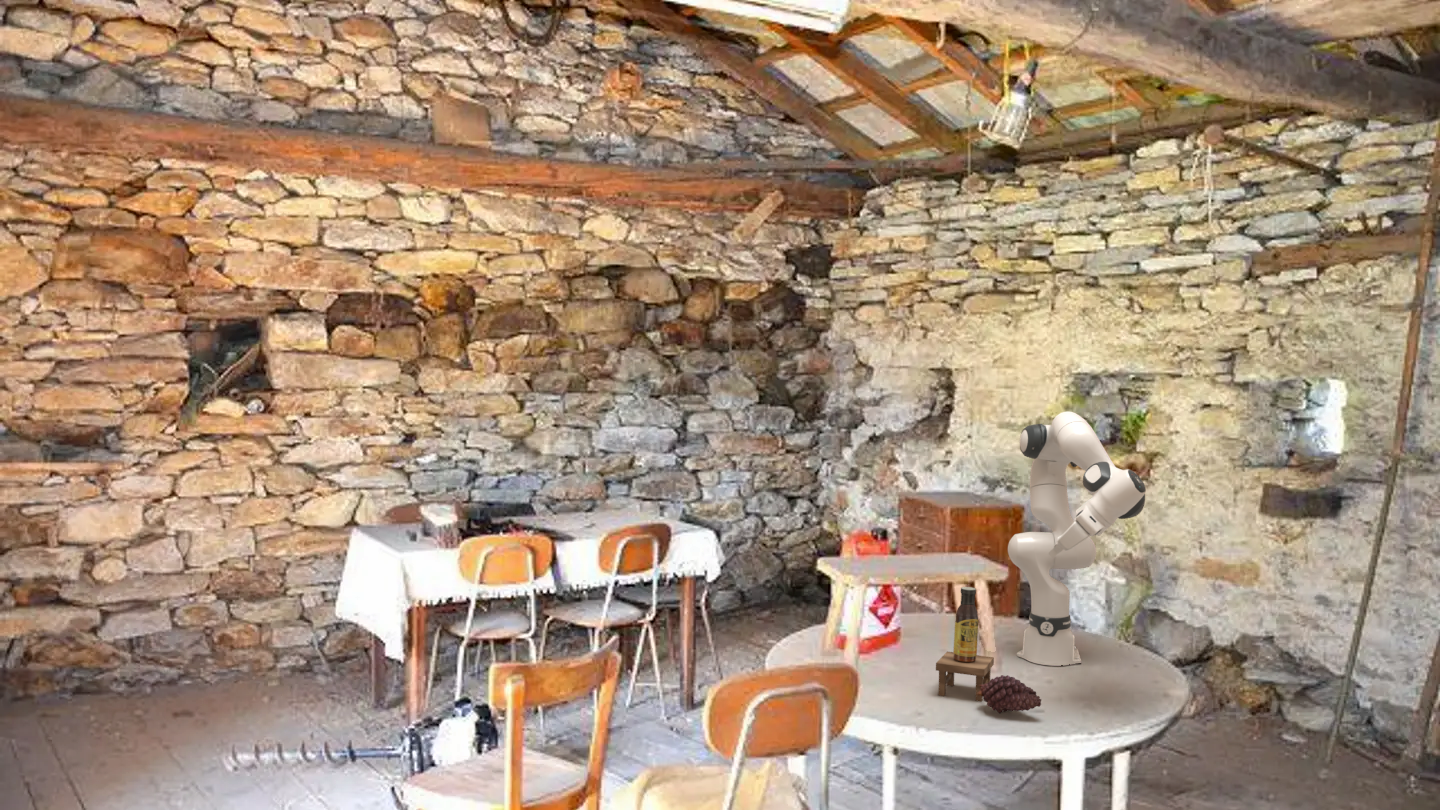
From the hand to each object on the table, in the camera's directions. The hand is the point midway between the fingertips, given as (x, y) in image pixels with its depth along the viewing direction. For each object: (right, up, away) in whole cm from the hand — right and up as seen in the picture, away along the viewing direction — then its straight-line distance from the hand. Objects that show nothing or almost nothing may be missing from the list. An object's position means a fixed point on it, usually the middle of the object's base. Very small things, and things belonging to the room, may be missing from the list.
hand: (1053, 552), depth 297 cm
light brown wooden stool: (-23, -39, +4) cm, 45 cm away
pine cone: (-16, -40, -14) cm, 45 cm away
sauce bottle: (-23, -30, +3) cm, 38 cm away
